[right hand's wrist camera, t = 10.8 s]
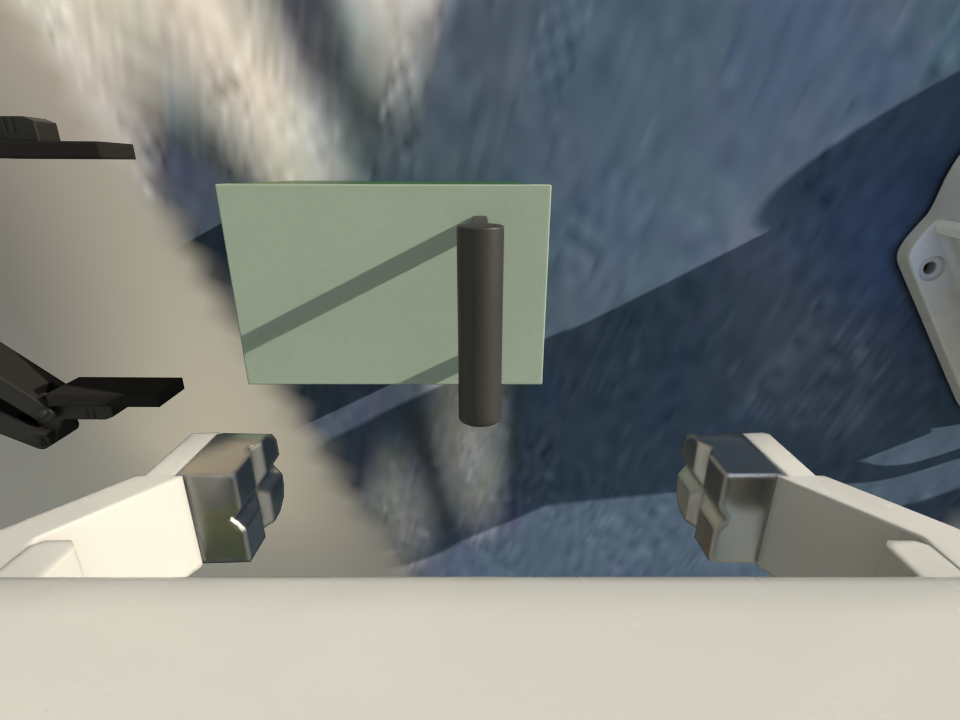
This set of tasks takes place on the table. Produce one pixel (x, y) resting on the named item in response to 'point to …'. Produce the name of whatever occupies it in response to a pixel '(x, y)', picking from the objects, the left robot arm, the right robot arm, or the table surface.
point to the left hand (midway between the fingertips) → (147, 281)
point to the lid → (391, 284)
